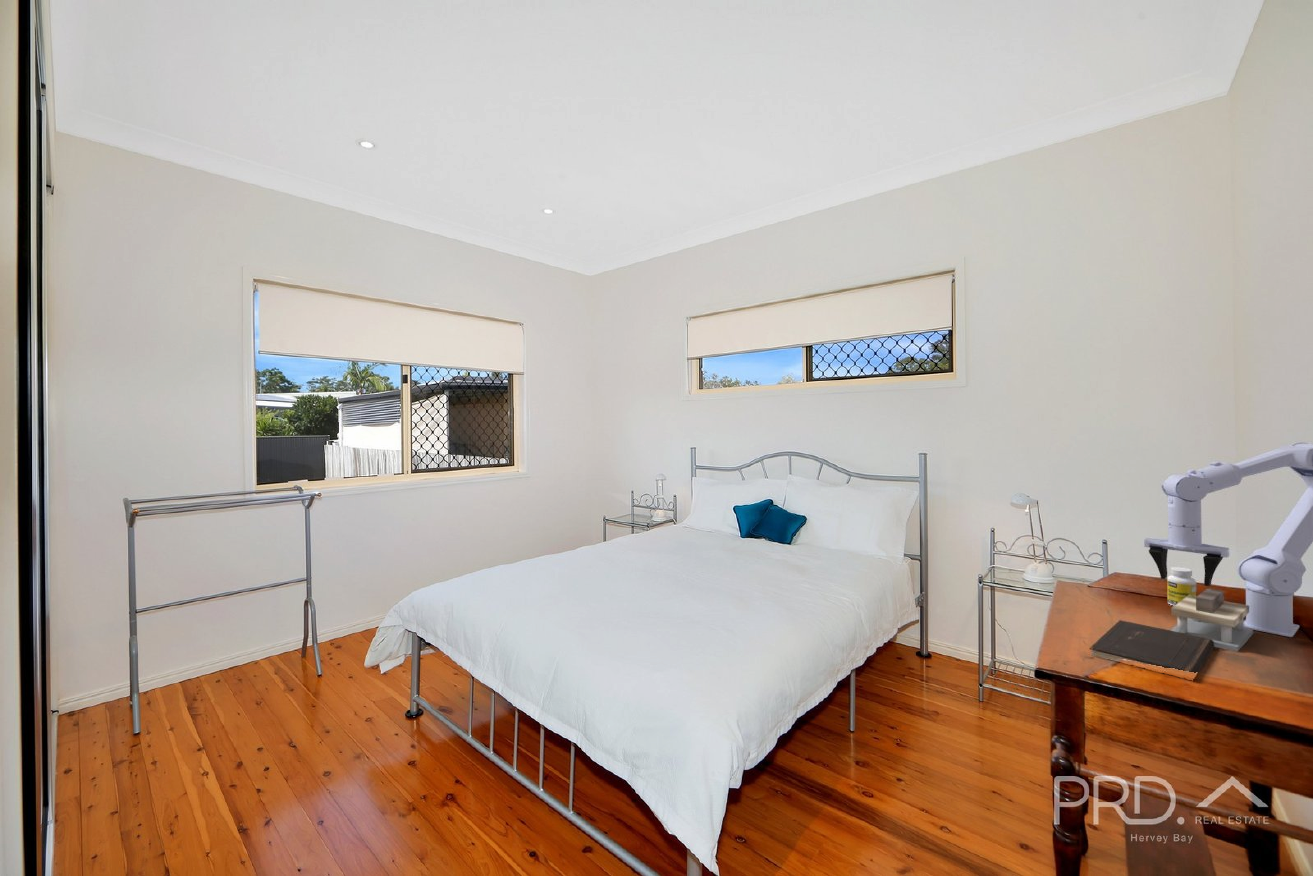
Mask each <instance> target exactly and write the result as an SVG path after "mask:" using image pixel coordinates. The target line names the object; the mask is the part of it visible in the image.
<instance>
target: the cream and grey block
mask: <svg viewBox="0 0 1313 876" xmlns="http://www.w3.org/2000/svg"><path fill="white" fill-rule="evenodd" d="M1224 592H1225V591H1224V590H1222V589H1217V588H1210V587H1207V588H1206V589H1205V590H1204V591H1202V592H1201V593H1200V594H1199V595H1196V596H1192V595H1188V596H1187V597H1186V598H1184V599H1183V600H1182V601H1180V602H1179V603H1178V604H1176V605H1175V606H1171V608H1170V609H1171V613H1170V614H1171V615H1172V616H1177V617H1178V616H1181V617H1186V618H1191V619H1196V620H1200V621H1205V622H1210V623H1215V624H1220V625H1225V626H1230V627H1235V626H1236V625H1237V624H1238V623H1239V622H1240V621H1241V620H1242V619H1244V618H1246V615H1247V614H1248V613H1249V605H1246V604H1243V603H1236V602H1232V601H1226V600H1225V593H1224Z"/></svg>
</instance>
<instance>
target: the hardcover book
mask: <svg viewBox="0 0 1313 876" xmlns="http://www.w3.org/2000/svg"><path fill="white" fill-rule="evenodd" d="M1170 630H1171V629H1165V628H1161V627H1155V626H1150V625H1146V624H1140V623H1135V622H1131V621H1126V620H1121V619H1119V620H1118V621H1117V622H1116V623H1115V624H1114V625H1113V626H1112V627H1111V628H1110V629H1108V630H1107V631H1106V633H1104V634H1103V635H1102V636H1101V637H1100V638H1098V639H1097V641H1095V642H1094V643H1093V644H1092V645H1091V646H1090V647H1089V650H1091V651H1092V652H1091V656H1092V657H1095V658H1098V659H1099V658H1100V659H1103V660H1107V659H1110V660H1112V659H1113V660H1117V659H1127V660H1132V661H1137V662H1140V663H1143V664H1151V665H1156V666H1162V667H1164V668H1175V669H1178V670H1183V671H1189V672H1194V673H1196V672H1200V670H1201V669H1202V667H1204V664H1205V663H1206V661H1207V659H1208V658H1209V656H1210V654H1211V653H1212V651H1213V649H1214V648H1215V647H1214V642H1213V640H1211V639H1209V638H1204V637H1200V636H1195V635H1190V634H1185V633H1180V632H1175V631H1170ZM1110 660H1109V661H1110Z"/></svg>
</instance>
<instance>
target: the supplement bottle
mask: <svg viewBox="0 0 1313 876" xmlns="http://www.w3.org/2000/svg"><path fill="white" fill-rule="evenodd" d="M1170 573H1171V575H1169V576H1167V578H1166V579H1167V581H1166V582H1167V584H1166V585H1167V587H1166V588H1167V592H1166V593H1167V604H1168V605H1169V604H1170V605H1169V606H1171V605H1173V606H1172V607H1174V606H1175V605H1176V604H1178V603H1179V602H1180V601H1182V600H1183V599H1184V598H1186V597H1187V596H1188V595H1192V596H1197V581H1196V579H1195V578H1193V570H1192V569H1191V568H1187V567H1182V566H1181V567H1179V566H1172V567H1171V568H1170Z"/></svg>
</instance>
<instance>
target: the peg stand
mask: <svg viewBox="0 0 1313 876" xmlns="http://www.w3.org/2000/svg"><path fill="white" fill-rule="evenodd" d="M1244 621H1245V619H1244V618H1243V619H1242V620H1241V621H1240V622H1239V623H1238V624H1237V625H1236V626H1235V627H1230V626H1225V625H1220V624H1215V623H1210V622H1205V621H1200V620H1196V619H1191V618H1186V617H1181V616H1177V624H1176V625H1174V626H1173V627H1172V628H1171V629H1169V630H1170V631H1175V632H1180V633H1185V634H1190V635H1195V636H1200V637H1204V638H1209V639H1211V640H1213V642H1214V648H1220V649H1223V650H1227V651H1232V652H1239V651H1240V649H1241V648H1242V647H1244V645H1245V644H1246V643H1247V642H1248V641H1249V639H1250V638H1251V637H1252V636H1253V635H1254V630H1253V629H1248V628H1244Z"/></svg>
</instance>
